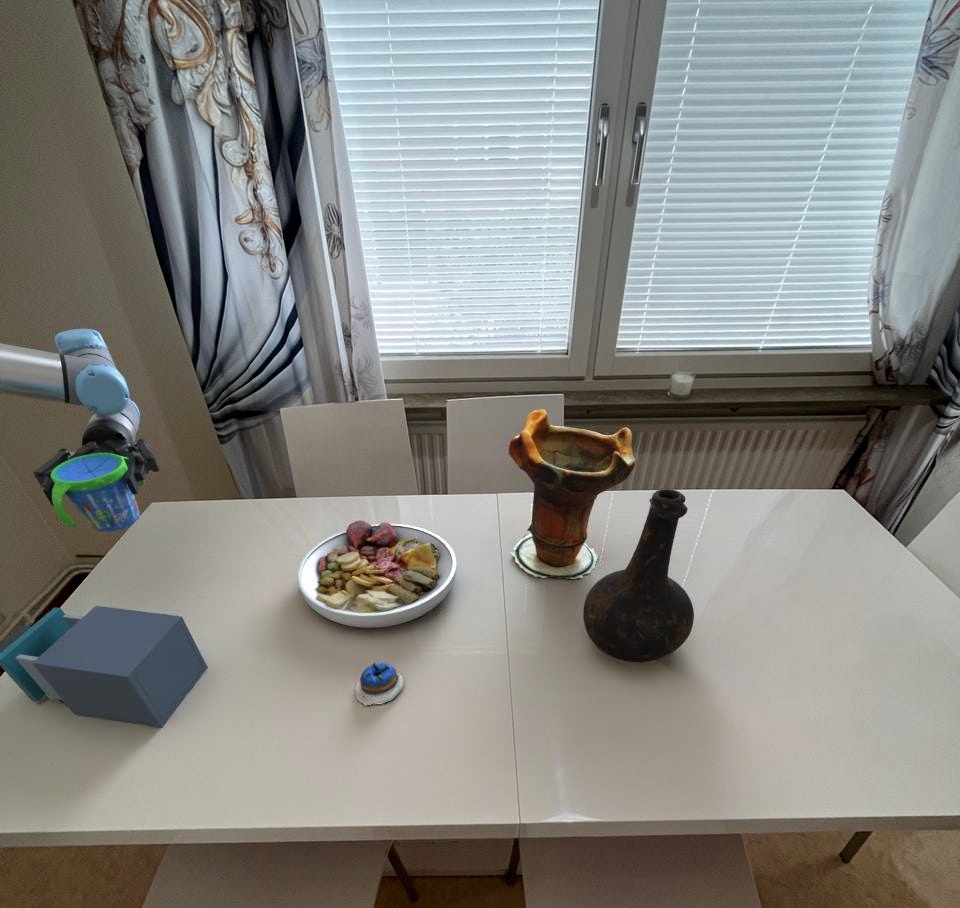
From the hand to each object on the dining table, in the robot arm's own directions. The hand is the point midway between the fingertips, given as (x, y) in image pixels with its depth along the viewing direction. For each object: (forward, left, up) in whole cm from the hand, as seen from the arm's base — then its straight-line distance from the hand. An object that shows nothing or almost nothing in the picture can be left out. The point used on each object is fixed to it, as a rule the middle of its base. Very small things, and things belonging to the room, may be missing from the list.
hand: (91, 492), depth 84 cm
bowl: (+40, +14, -24) cm, 49 cm away
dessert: (+48, -12, -24) cm, 55 cm away
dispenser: (+11, -19, -24) cm, 32 cm away
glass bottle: (+88, +6, -24) cm, 91 cm away
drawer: (0, -19, -23) cm, 30 cm away
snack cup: (-2, +4, -8) cm, 9 cm away
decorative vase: (+74, +30, -24) cm, 83 cm away
